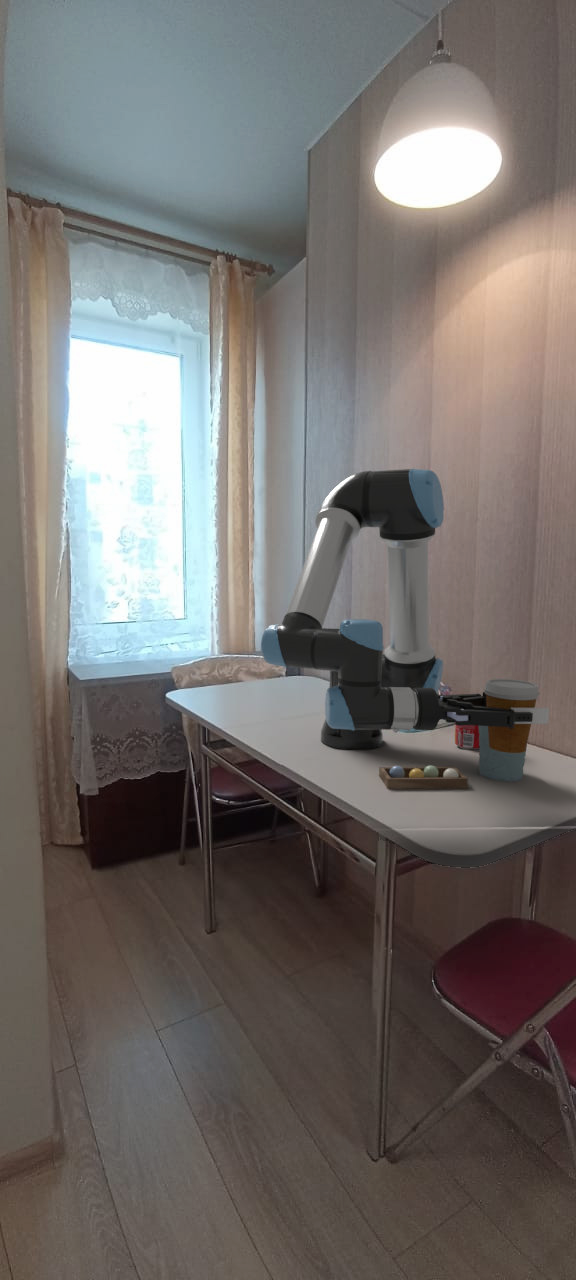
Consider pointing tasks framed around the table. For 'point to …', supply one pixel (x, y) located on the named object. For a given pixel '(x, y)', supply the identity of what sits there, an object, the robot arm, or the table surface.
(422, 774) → the amber marble
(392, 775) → the slate blue marble
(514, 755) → the teal embossed cup
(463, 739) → the soda can
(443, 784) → the walnut dish
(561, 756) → the table surface
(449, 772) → the ivory marble
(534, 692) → the disposable coffee cup
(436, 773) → the sage green marble
